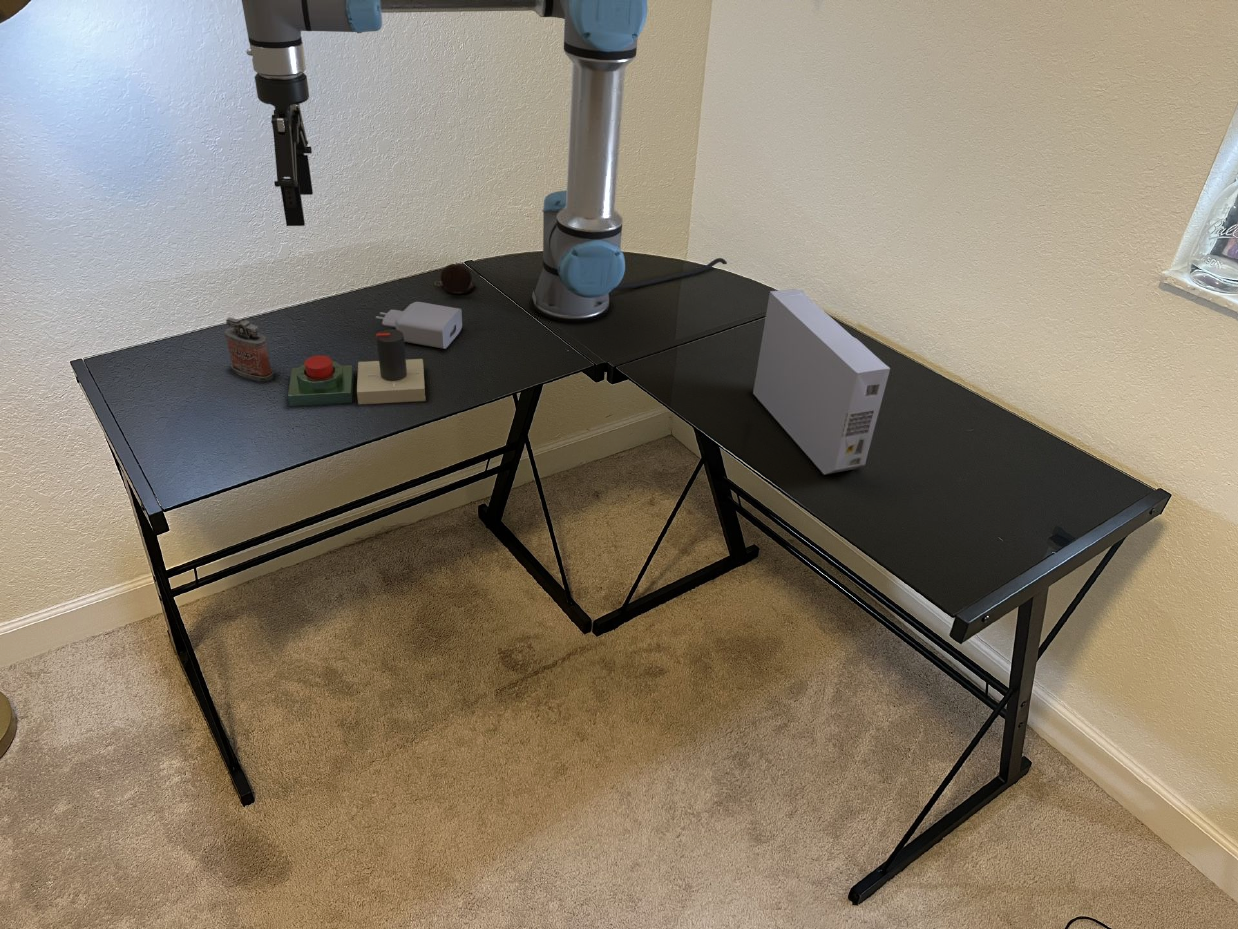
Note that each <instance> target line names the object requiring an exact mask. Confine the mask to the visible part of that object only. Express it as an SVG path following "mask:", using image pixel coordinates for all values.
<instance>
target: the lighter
mask: <svg viewBox="0 0 1238 929" xmlns="http://www.w3.org/2000/svg"><path fill="white" fill-rule="evenodd" d="M225 322H226V326H227V327H229V328H226V329H225V330H224V331H223V334H224V337H225V338H226V341H227V346H228V351H229V355H230V356H229V357H230V360H231V370H232V372H233V373H235V374H237V375H239V376H241V377H243V378H246V379H248V380H249V379H251V380H252V381H253V380H254V381H257V382H258V381H259V382H268V381H270V380H272V379H273V378H274V372H273V370H272V368H271V363H270V357H269V352H268V347H267V343H268V340H267V337H266V336H265V335H263V334H262V333H259V328H258V326H257V325H255V324H252V323H251V321H249V320H247V319H245V320H244V321H242V320H240V319H237V318H234V317H231V316H230V317H227V318H226V319H225Z"/></svg>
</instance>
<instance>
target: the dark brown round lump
mask: <svg viewBox="0 0 1238 929" xmlns="http://www.w3.org/2000/svg"><path fill="white" fill-rule="evenodd" d="M472 278H473V276H472V274H471V271H470V270H469V269H468V268H467V267H466V266H465V265H463V264H460V263H458V262H457V261H456V262H455V263H451V264H450V263H449V264H447V265H446V266H444V267H443V269H442V270H441V273H440V284H436V283H438V281H435V282H434V286H436V287H440V286H443V289H444V291H446V292H448V293H449V294H453V295H463V294H467V293H471V291H473V289H474V288H475V283H474V282H473V279H472Z"/></svg>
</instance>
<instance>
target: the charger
mask: <svg viewBox="0 0 1238 929" xmlns="http://www.w3.org/2000/svg"><path fill="white" fill-rule="evenodd" d="M462 311H463V310H462V308H458V307H451V306H447V305H442V304H441V305H439V304H433V303H428V302H422V301H415V302H412V303H410V304H409V305H408V306H407V307H406V308H405V309H404V310H398V309H390V310H388V312H382V311H380V312H379V316H378V315H376V316H375V319H377V320H382V322H381V325H382V326H383V327H389V328H394V329H395V330H399V331H401V332H402V333H403V335H404V343H410V344H415V345H420V346H426V347H431V348H438V349H441V350H443V349H444V350H446V349H447V348H448V347H449V346H450V345H451V343H452V342H453V341H455V339H456V337H457V336H458V335H459V334H460V332H461V330H462V328H463V315H462V314H463V313H462ZM380 315H381V316H380Z"/></svg>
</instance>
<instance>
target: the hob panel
mask: <svg viewBox="0 0 1238 929" xmlns="http://www.w3.org/2000/svg"><path fill="white" fill-rule="evenodd" d="M406 368H407V375H406V377H405V378H403V379H401V380H397V381H388V380H385V379H383V378H382V377H381V375H380V365H379V360H370V361H369V360H368V361H367V360H366V361H358V362H357V381H356V382H357V383H356V395H357V396H356V397H357V405H374V404H375V405H376V404H391V403H410V402H412V403H413V402H426V386H425V385H426V384H425V383H426V382H425V368H424V358H413V359H412V358H411V359H406Z"/></svg>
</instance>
